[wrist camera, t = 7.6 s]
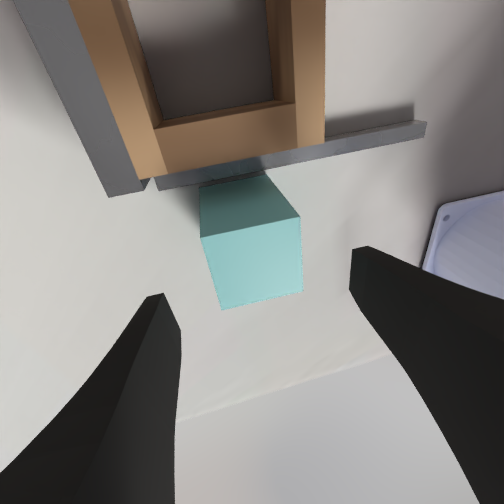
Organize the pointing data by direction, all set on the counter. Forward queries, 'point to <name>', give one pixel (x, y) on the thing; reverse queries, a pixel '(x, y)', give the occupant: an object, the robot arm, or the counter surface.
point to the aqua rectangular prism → (250, 241)
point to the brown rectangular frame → (220, 121)
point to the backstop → (107, 132)
